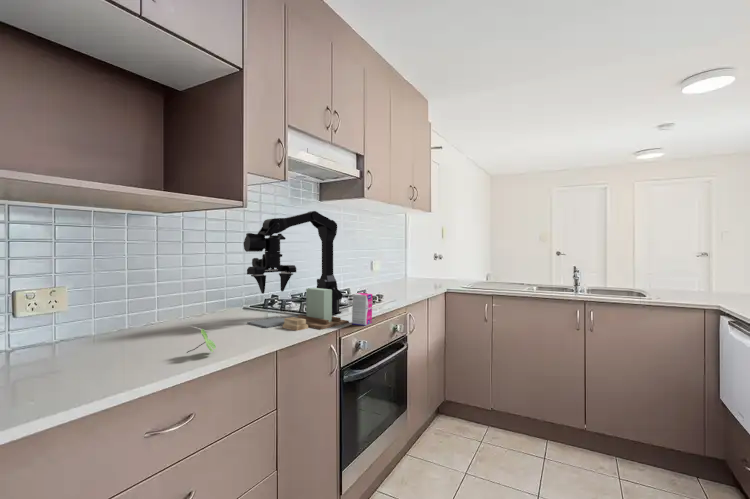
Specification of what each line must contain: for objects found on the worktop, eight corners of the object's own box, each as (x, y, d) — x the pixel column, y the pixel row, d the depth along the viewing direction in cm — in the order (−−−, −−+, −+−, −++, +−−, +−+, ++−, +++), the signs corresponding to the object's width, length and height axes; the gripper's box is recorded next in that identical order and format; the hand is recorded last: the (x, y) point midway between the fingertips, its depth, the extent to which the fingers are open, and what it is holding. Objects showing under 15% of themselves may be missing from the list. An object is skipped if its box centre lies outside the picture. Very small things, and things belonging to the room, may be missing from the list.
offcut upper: (293, 322, 141) (293, 317, 141) (305, 324, 136) (305, 319, 136) (284, 324, 137) (284, 318, 137) (297, 326, 133) (297, 320, 133)
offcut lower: (293, 327, 142) (293, 321, 142) (308, 330, 136) (308, 324, 136) (282, 329, 138) (282, 323, 138) (296, 332, 133) (297, 326, 133)
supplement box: (365, 326, 140) (365, 295, 140) (351, 325, 142) (351, 294, 142) (372, 323, 145) (372, 293, 145) (358, 322, 147) (358, 292, 147)
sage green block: (314, 318, 150) (314, 287, 150) (331, 321, 144) (331, 289, 144) (306, 319, 147) (306, 288, 147) (324, 323, 141) (323, 290, 141)
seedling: (199, 368, 106) (220, 354, 107) (184, 360, 99) (207, 345, 101) (190, 347, 109) (211, 334, 111) (175, 338, 103) (198, 324, 104)
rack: (317, 317, 157) (317, 311, 157) (348, 323, 145) (348, 316, 145) (289, 323, 146) (289, 316, 146) (321, 329, 134) (321, 322, 134)
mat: (278, 318, 155) (278, 317, 155) (297, 322, 148) (297, 320, 148) (247, 323, 145) (247, 322, 145) (265, 328, 137) (265, 326, 137)
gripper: (280, 251, 158) (280, 288, 159) (238, 251, 144) (239, 293, 144) (297, 251, 151) (297, 290, 151) (255, 251, 137) (255, 295, 137)
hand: (272, 292), depth 146 cm, fingers open, 8 cm apart
